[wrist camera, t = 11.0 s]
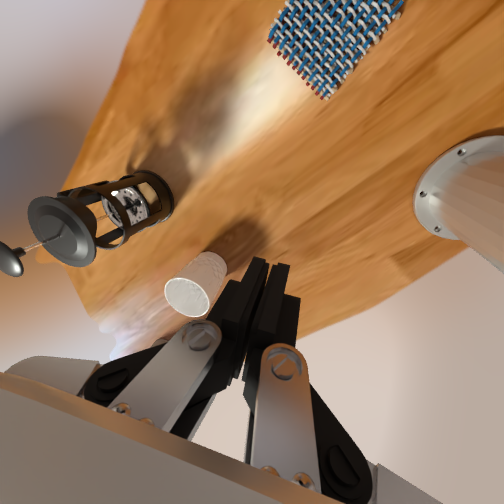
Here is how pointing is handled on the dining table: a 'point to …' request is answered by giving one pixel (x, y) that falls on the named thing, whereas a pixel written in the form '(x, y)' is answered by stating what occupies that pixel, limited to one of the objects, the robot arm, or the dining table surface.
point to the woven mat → (314, 32)
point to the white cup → (196, 284)
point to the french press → (89, 220)
